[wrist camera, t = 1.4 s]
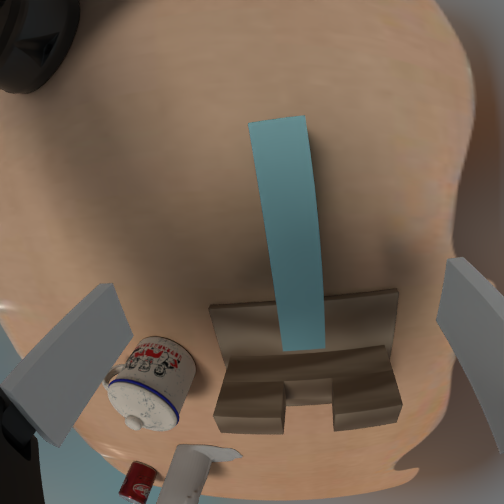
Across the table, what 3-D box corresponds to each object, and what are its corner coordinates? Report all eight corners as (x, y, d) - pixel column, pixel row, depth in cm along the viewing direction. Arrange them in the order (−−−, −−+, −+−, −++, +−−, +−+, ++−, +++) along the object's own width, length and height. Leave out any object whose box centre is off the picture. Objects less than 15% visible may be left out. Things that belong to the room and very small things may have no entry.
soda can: (151, 464, 54) (136, 500, 43) (161, 475, 57) (149, 509, 46) (128, 458, 56) (112, 491, 45) (139, 469, 58) (126, 501, 47)
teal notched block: (263, 127, 23) (247, 123, 15) (300, 122, 23) (304, 115, 15) (287, 291, 29) (283, 351, 21) (318, 288, 29) (325, 348, 20)
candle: (247, 460, 45) (229, 547, 27) (188, 459, 49) (163, 534, 31) (232, 444, 43) (208, 539, 25) (170, 443, 47) (139, 523, 28)
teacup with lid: (191, 337, 33) (156, 411, 23) (203, 386, 37) (179, 454, 26) (111, 327, 35) (66, 385, 25) (130, 374, 39) (97, 430, 28)
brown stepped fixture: (210, 304, 31) (181, 367, 22) (396, 288, 27) (428, 349, 18) (239, 402, 37) (226, 458, 28) (380, 392, 34) (392, 450, 25)
